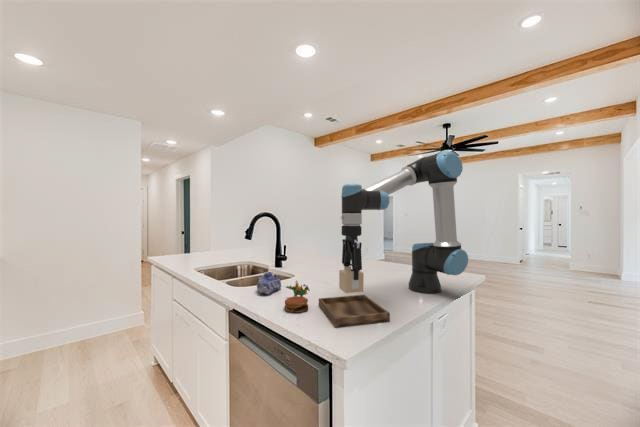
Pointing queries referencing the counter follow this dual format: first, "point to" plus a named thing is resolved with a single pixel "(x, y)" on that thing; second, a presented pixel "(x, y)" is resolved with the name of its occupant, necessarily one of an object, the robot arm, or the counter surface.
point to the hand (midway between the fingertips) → (351, 285)
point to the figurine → (299, 289)
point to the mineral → (268, 283)
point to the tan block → (349, 281)
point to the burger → (296, 304)
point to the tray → (353, 311)
